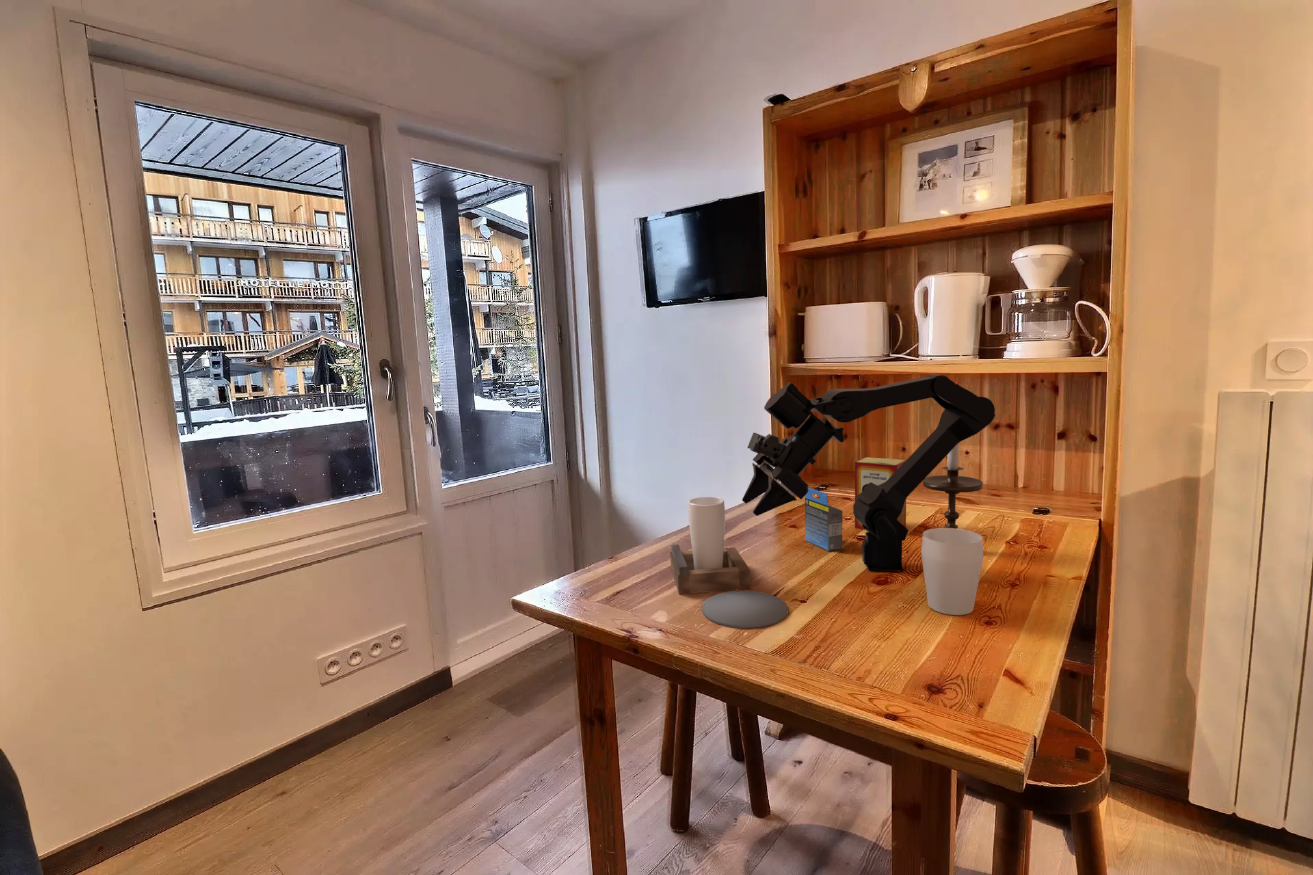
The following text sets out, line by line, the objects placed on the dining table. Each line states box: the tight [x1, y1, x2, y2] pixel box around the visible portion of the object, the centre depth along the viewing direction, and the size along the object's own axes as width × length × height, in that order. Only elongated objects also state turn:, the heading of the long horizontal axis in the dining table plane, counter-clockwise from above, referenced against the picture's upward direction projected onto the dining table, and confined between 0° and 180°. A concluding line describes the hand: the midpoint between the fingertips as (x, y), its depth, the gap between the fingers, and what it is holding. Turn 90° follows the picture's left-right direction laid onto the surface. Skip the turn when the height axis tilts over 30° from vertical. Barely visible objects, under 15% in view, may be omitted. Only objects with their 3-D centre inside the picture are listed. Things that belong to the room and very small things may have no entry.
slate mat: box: [701, 590, 789, 629], centre depth 107 cm, size 14×14×1 cm
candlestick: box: [922, 378, 984, 529], centre depth 129 cm, size 11×11×35 cm
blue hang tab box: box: [804, 486, 843, 552], centre depth 137 cm, size 9×4×12 cm, turn 20°
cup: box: [920, 527, 984, 616], centre depth 103 cm, size 9×9×12 cm
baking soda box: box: [854, 456, 907, 530], centre depth 147 cm, size 10×6×16 cm
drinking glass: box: [688, 496, 726, 570], centre depth 120 cm, size 7×7×15 cm
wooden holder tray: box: [669, 544, 752, 595], centre depth 121 cm, size 13×13×5 cm
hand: (749, 507), depth 120 cm, fingers open, 9 cm apart
